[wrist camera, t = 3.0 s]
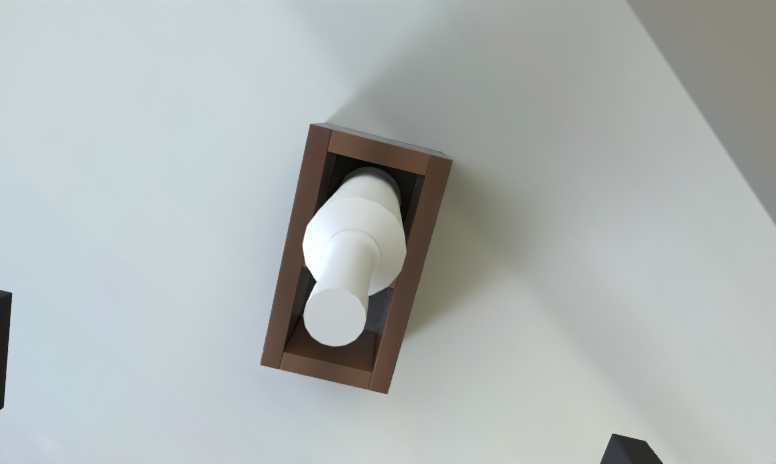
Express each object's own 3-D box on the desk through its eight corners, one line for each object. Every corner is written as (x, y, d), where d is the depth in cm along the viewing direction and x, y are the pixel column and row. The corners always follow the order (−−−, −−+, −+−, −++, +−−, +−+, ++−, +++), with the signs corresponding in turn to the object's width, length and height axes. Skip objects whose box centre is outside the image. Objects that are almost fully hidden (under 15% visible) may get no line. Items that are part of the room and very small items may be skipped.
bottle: (398, 228, 41) (407, 394, 16) (336, 224, 41) (254, 383, 16) (403, 167, 39) (420, 246, 15) (339, 162, 39) (255, 234, 15)
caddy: (280, 325, 43) (259, 365, 36) (324, 122, 39) (310, 123, 32) (388, 351, 43) (387, 394, 36) (442, 152, 39) (453, 159, 32)
